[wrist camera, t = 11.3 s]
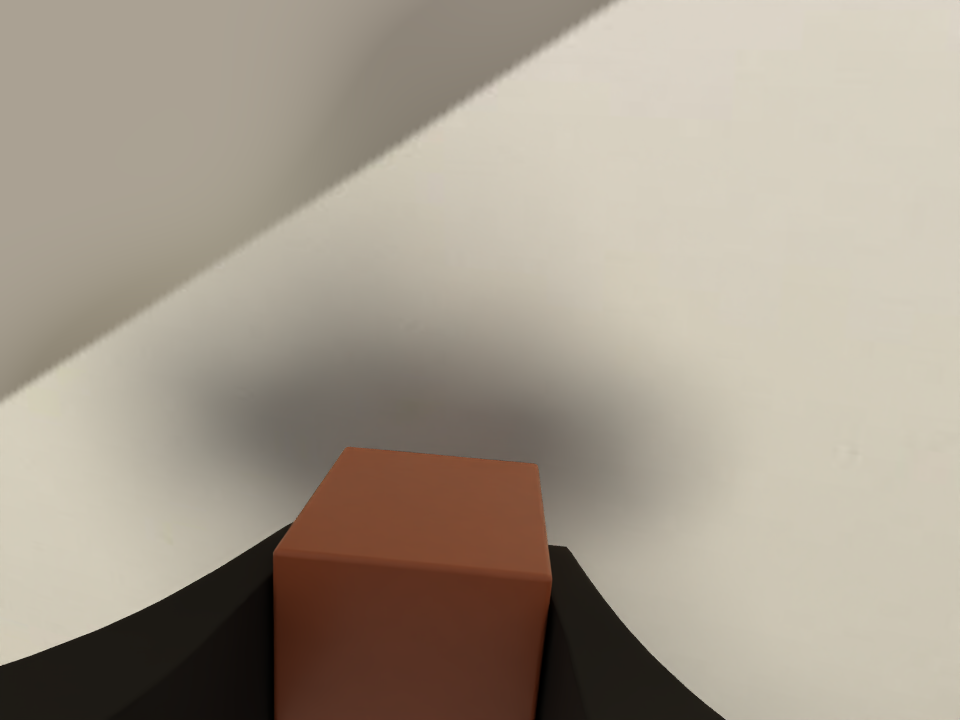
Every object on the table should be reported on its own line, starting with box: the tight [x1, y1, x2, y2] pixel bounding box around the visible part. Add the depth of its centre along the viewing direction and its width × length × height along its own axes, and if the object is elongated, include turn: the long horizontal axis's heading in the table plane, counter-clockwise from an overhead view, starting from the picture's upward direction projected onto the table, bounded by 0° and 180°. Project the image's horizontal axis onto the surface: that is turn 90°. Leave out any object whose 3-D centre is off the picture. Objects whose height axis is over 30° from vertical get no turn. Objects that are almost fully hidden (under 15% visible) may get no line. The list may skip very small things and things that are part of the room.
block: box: [273, 447, 552, 720], centre depth 11 cm, size 4×4×4 cm
